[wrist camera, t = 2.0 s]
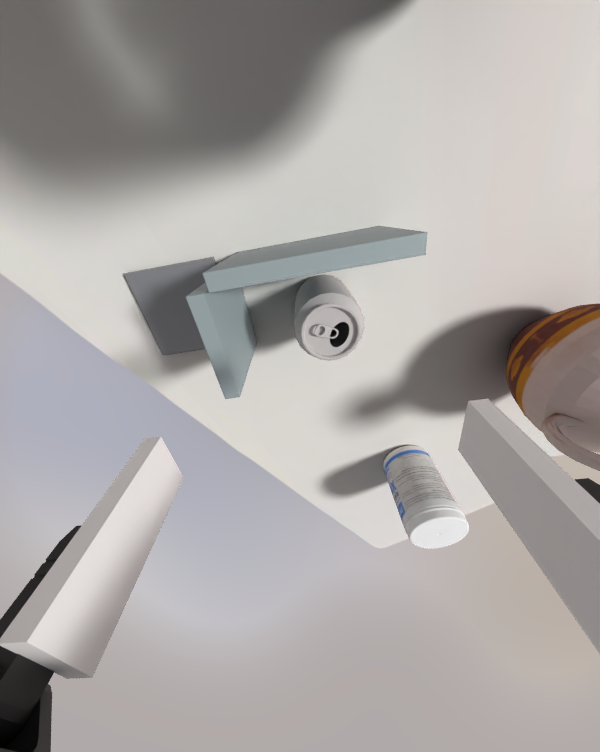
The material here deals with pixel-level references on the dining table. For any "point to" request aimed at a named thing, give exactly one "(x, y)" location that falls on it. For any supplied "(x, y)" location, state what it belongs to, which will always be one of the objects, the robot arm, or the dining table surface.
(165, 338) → the coaster
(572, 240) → the dining table surface
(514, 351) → the jug
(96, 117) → the dining table surface
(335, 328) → the can
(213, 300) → the screen
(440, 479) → the supplement tub
